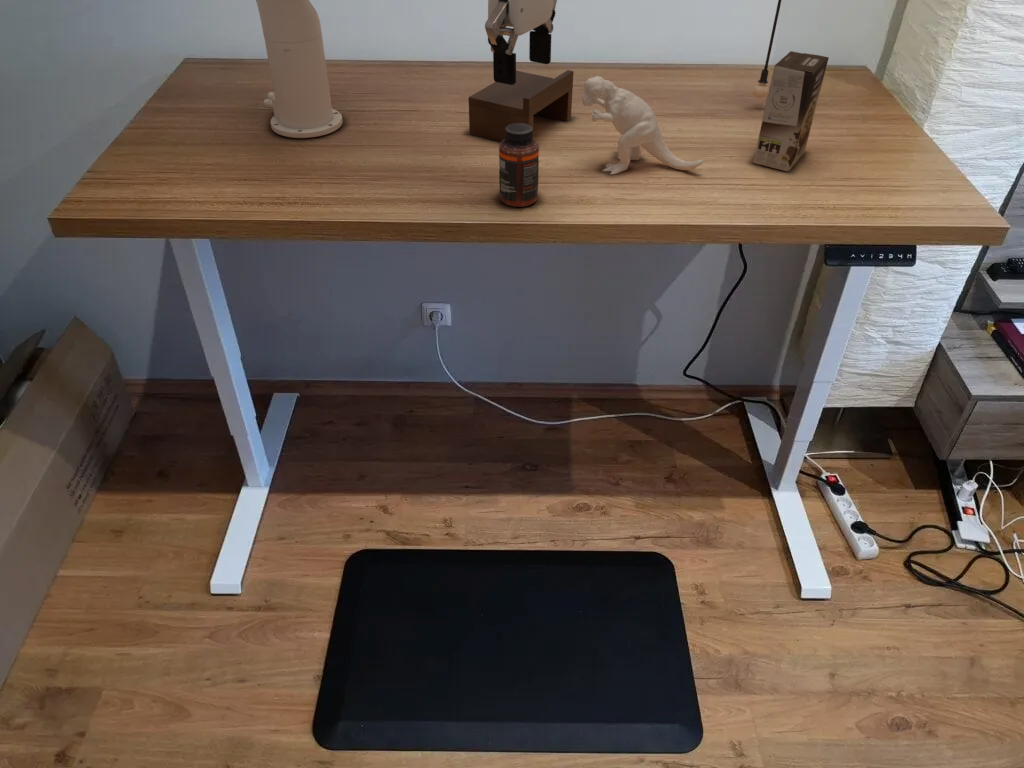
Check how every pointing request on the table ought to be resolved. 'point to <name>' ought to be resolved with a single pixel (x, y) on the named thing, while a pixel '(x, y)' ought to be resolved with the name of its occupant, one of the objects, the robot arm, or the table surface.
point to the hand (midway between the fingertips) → (522, 72)
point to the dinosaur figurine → (630, 125)
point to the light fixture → (762, 88)
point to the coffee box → (790, 110)
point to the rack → (519, 103)
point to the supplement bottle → (518, 166)
